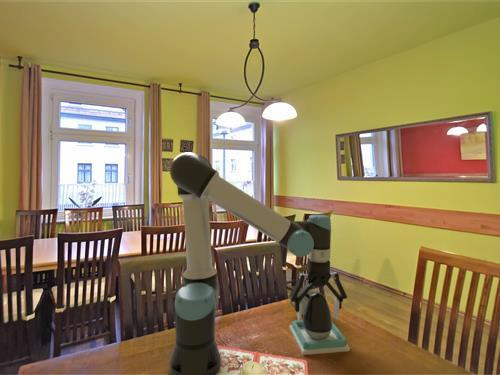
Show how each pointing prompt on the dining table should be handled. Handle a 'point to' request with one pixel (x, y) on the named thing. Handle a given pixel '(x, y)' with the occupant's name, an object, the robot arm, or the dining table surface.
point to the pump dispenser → (317, 316)
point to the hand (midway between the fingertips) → (317, 319)
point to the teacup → (303, 301)
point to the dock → (318, 340)
